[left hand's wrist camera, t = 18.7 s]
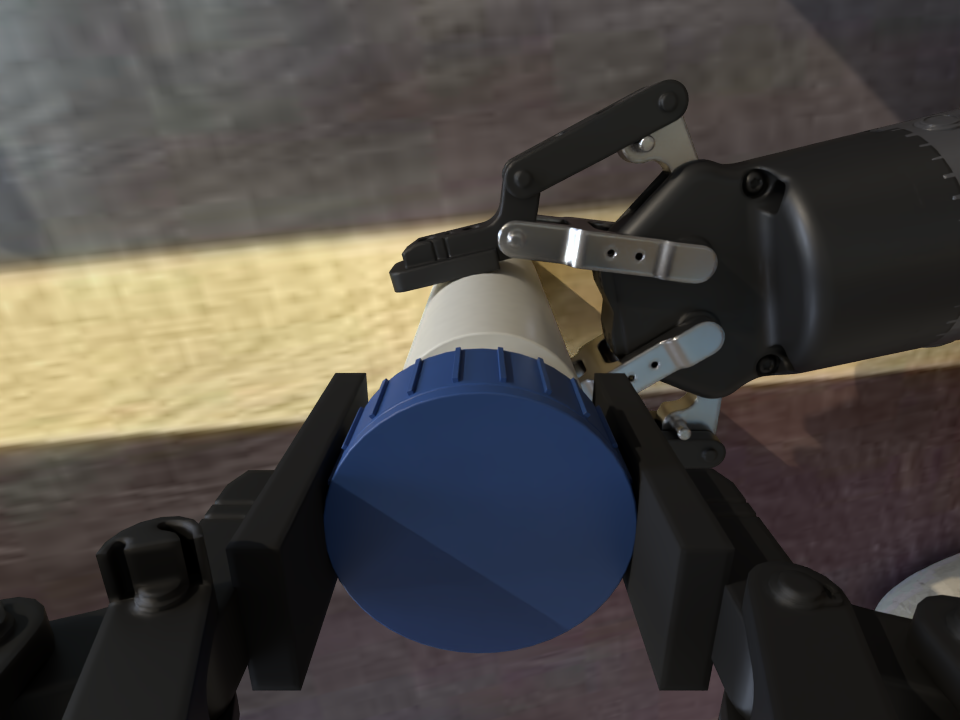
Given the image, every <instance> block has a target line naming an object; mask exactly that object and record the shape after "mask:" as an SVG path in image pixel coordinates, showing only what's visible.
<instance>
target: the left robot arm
mask: <svg viewBox="0 0 960 720" xmlns="http://www.w3.org/2000/svg"><path fill="white" fill-rule="evenodd" d="M592 402H593V404H594V406H595V407H596V406H598V405H599V406H600V408H601V409H602V412H603V414H604V416H605V418H606V420H607V423H608V425H609V427H610V429H611V431H612V434H613V436H614V438H615V440H616V442H617V445H618V448H619V451H620V453H621V455H622V457H623V459H624V462H625V464H626V466H627V468H628V470H629V473H630V475H631V477H632V480H633V483H632V484H631V485H632V489H633V493H634V497H635V500H636V507H637V525H636V534H635V542H634V550H633V555H632V558H631V560H630V563H629V566H628V568H627V571H626V572H625V574H624V576H623V580H624V583H625V586H626V589H627V592H628V595H629V598H630V602H631V605H632V608H633V611H634V614H635V617H636V620H637V623H638V626H639V629H640V632H641V635H642V638H643V641H644V644H645V647H646V650H647V653H648V657H649V660H650V663H651V666H652V669H653V672H654V675H655V678H656V681H657V684H658V687H659V690H708V686H709V681H710V676H711V671H712V666H713V664H714V666H715V668H716V670H717V672H718V675H719V677H720V679H721V681H722V684H723V686H724V688H725V689H724V694H723V699H722V704H721V709H720V713H719V718H718V720H960V597H954V596H948V595H936V596H928V597H925V598H924V599H923V600H922V601H920V602H919V603H918V604H917V607H916V610H915V613H914V615H913V618H912V619H910V618H905V617H901V616H897V615H892V614H888V613H883V612H879V611H874V610H870V609H866V608H862V607H859V606H855V605H852V604H851V603H850V601H849V600H848V598H847V597H846V595H845V594H844V592H843V591H842V589H841V588H839V587H838V586H837V585H836V584H834V583H833V582H832V581H831V580H829V579H828V578H827V577H826V576H824V575H822V574H820V573H818V572H816V571H814V570H812V569H810V568H808V567H804V566H801V565H797V564H794V563H792V561H791V560H790V559H789V557H788V556H787V554H786V553H785V552H784V550H783V549H782V548H781V546H780V545H779V544H778V542H777V541H776V540H775V538H774V537H773V536H772V534H771V533H770V532H769V530H768V529H767V528H766V526H765V525H764V524H763V522H762V521H761V520H760V518H759V517H756V513H755V511H754V510H753V509H752V507H751V506H750V505H749V503H746V499H745V498H744V497H743V495H742V494H741V493H740V491H739V490H738V489H737V487H736V486H735V485H734V483H733V482H731V481H730V480H728V479H727V478H725V477H724V476H723V475H721V474H720V473H718V472H717V471H715V470H714V469H685V468H684V466H683V465H682V463H681V462H680V460H679V459H678V457H677V455H676V454H675V452H674V451H673V449H672V447H671V446H670V444H669V443H668V441H667V439H666V438H665V436H664V435H663V433H662V431H661V430H660V428H659V427H658V425H657V423H656V422H655V420H654V419H653V417H652V415H651V414H650V412H649V411H648V409H647V408H646V406H645V404H644V403H643V401H642V400H641V398H640V396H639V395H638V393H637V392H636V390H635V388H634V387H633V385H632V384H631V382H630V380H629V379H628V377H627V376H626V374H625V373H594V384H593V397H592ZM367 404H368V392H367V379H366V373H335V375H334V376H333V378H332V379H331V381H330V383H329V384H328V386H327V387H326V389H325V391H324V392H323V394H322V395H321V397H320V399H319V400H318V402H317V403H316V405H315V407H314V408H313V410H312V411H311V413H310V414H309V416H308V418H307V419H306V421H305V422H304V424H303V426H302V427H301V429H300V430H299V432H298V434H297V435H296V437H295V438H294V440H293V442H292V443H291V445H290V446H289V448H288V450H287V451H286V453H285V454H284V456H283V458H282V459H281V461H280V462H279V464H278V465H277V467H276V469H275V470H248V471H247V472H245V473H244V474H242V475H241V476H239V477H238V478H236V479H235V480H234V481H232V482H231V483H229V484H228V485H227V486H226V487H225V489H224V490H223V491H222V493H221V494H220V495H219V497H218V498H217V500H216V501H215V505H212V506H211V508H210V509H209V510H208V512H207V513H206V514H205V519H202V520H201V521H200V523H199V524H198V523H197V522H196V521H195V520H193V519H189V518H185V517H180V516H175V517H160V518H156V519H152V520H148V521H144V522H140V523H138V524H136V525H134V526H131V527H129V528H127V529H125V530H123V531H121V532H119V533H118V534H117V535H115V536H114V537H112V538H111V539H109V540H108V541H107V542H105V544H104V545H103V546H102V547H101V549H100V550H99V551H98V552H97V554H96V557H97V561H98V564H99V568H100V571H101V575H102V578H103V581H104V585H105V588H106V592H107V595H108V598H109V602H110V604H109V606H108V607H107V608H103V609H100V610H96V611H92V612H88V613H83V614H79V615H75V616H70V617H66V618H61V619H57V620H52V621H49V620H48V617H47V614H46V611H45V608H44V606H43V605H42V604H40V603H39V602H38V601H37V600H35V599H30V598H22V597H16V598H9V599H3V600H0V720H239V717H240V712H239V705H238V699H237V694H236V690H237V687H238V685H239V683H240V681H241V678H242V676H243V674H244V672H245V669H246V667H247V665H248V669H249V674H250V679H251V684H252V690H301V688H302V685H303V682H304V679H305V676H306V673H307V670H308V667H309V664H310V661H311V658H312V655H313V651H314V648H315V645H316V642H317V639H318V636H319V633H320V630H321V627H322V624H323V621H324V618H325V615H326V612H327V609H328V606H329V603H330V600H331V596H332V593H333V590H334V587H335V584H336V581H337V578H338V577H337V575H336V573H335V571H334V569H333V567H332V564H331V561H330V558H329V555H328V552H327V547H326V539H325V531H324V520H323V513H324V506H325V499H326V495H327V492H328V488H329V485H328V479H329V477H330V475H331V473H332V470H333V468H334V466H335V464H336V462H337V459H338V457H339V455H340V453H341V450H342V445H343V443H344V441H345V439H346V437H347V434H348V432H349V430H350V428H351V426H352V423H353V421H354V419H355V417H356V415H357V412H358V410H359V409H360V407H363V408H365V406H366V405H367Z"/></svg>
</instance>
